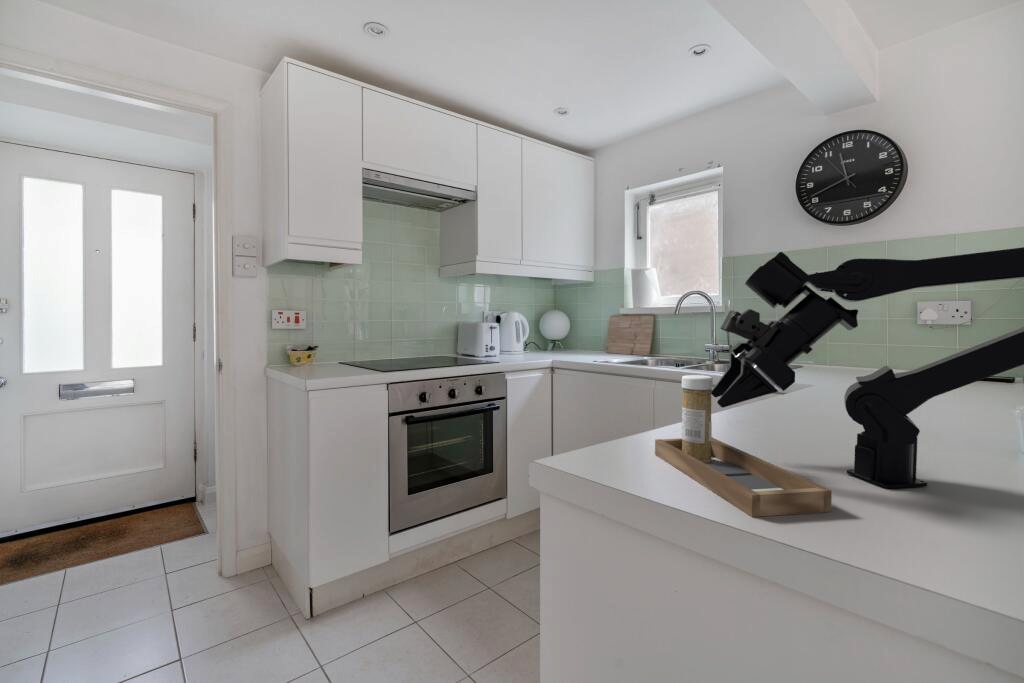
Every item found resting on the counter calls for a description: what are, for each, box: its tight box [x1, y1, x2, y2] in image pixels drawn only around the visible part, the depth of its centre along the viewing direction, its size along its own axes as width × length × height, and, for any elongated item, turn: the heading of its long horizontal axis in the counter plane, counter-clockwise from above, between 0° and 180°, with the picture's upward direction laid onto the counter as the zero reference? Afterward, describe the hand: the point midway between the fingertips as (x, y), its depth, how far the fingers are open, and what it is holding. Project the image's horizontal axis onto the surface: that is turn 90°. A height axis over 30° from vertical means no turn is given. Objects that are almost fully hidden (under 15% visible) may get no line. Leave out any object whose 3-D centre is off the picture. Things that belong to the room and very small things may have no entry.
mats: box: [705, 462, 779, 490], centre depth 66 cm, size 8×11×1 cm
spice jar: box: [681, 374, 714, 464], centre depth 74 cm, size 5×5×14 cm
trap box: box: [654, 437, 833, 518], centre depth 66 cm, size 10×25×2 cm, turn 8°
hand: (715, 399), depth 74 cm, fingers open, 9 cm apart
